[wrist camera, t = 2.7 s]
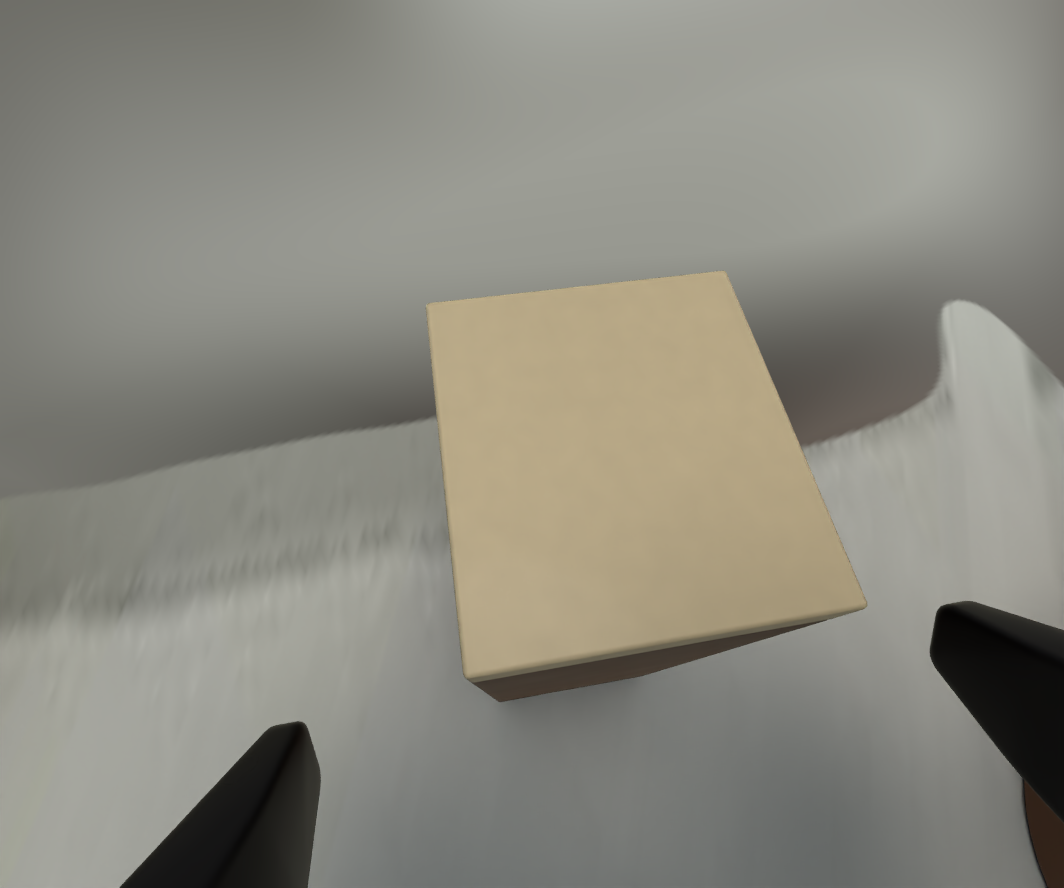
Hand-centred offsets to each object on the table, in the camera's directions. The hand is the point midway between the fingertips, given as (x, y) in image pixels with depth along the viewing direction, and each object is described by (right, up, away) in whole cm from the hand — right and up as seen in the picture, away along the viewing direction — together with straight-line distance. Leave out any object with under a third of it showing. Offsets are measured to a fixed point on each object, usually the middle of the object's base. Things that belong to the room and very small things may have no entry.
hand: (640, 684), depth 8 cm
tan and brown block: (-1, -2, +10) cm, 10 cm away
